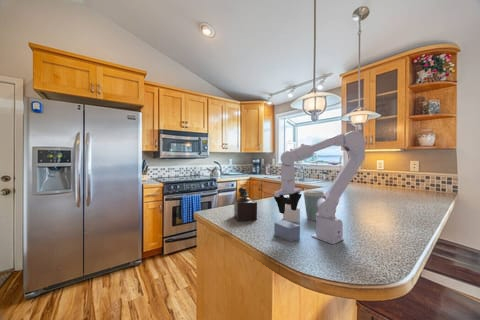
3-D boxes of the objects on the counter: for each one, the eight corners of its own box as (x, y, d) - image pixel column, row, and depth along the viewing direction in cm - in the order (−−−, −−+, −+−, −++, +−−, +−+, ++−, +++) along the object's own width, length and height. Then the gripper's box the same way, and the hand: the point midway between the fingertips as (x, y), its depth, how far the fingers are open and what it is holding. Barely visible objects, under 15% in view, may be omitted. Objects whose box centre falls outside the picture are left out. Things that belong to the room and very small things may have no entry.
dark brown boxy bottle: (232, 215, 112) (232, 183, 112) (251, 214, 115) (251, 183, 115) (239, 225, 97) (239, 188, 97) (260, 223, 100) (260, 187, 100)
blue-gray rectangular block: (299, 238, 81) (299, 225, 81) (290, 241, 78) (290, 228, 78) (283, 231, 88) (283, 220, 88) (274, 234, 85) (274, 222, 85)
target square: (299, 237, 82) (299, 237, 82) (288, 241, 78) (288, 241, 78) (286, 232, 88) (286, 231, 88) (275, 236, 84) (275, 235, 84)
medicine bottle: (299, 222, 101) (300, 198, 100) (285, 222, 101) (285, 198, 101) (296, 218, 108) (296, 195, 108) (282, 218, 108) (282, 195, 108)
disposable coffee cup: (300, 219, 106) (300, 190, 106) (306, 214, 115) (306, 188, 114) (321, 223, 100) (321, 193, 99) (326, 217, 108) (326, 190, 108)
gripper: (291, 177, 93) (291, 207, 94) (269, 180, 85) (269, 212, 85) (304, 179, 88) (304, 210, 88) (281, 181, 79) (281, 216, 79)
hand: (287, 211), depth 86 cm, fingers open, 7 cm apart
